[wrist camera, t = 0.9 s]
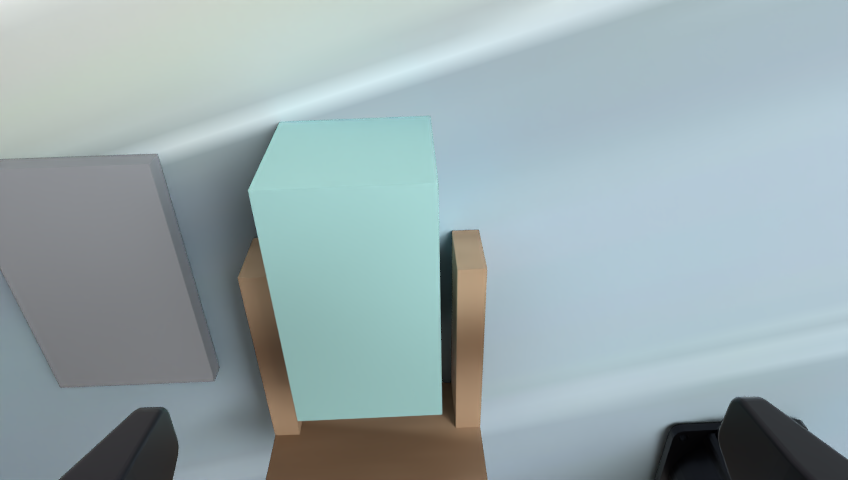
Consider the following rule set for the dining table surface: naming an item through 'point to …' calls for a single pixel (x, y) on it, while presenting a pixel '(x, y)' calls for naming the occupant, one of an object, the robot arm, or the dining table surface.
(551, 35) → the dining table surface
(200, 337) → the rubber mat
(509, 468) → the dining table surface
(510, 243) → the dining table surface
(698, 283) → the dining table surface
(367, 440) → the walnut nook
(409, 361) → the blank block
